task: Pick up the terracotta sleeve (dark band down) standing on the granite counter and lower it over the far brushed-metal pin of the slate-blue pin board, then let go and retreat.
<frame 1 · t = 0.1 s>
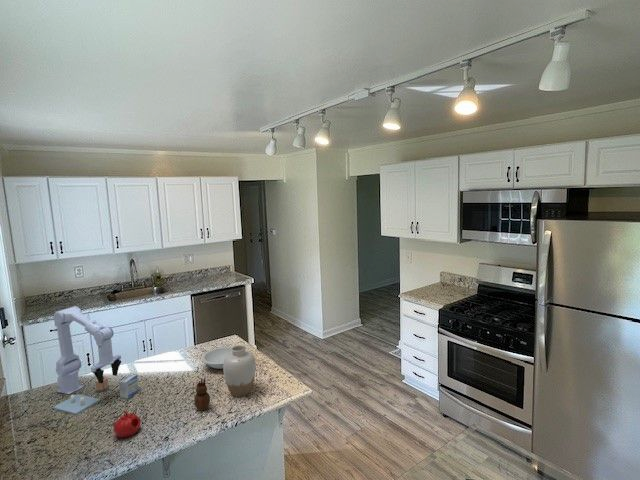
hand: (108, 379, 173), 10 cm above the countertop, tool pointing down, fingers open, 7 cm apart
wooden figurine: (202, 408, 162), on the countertop
pin board: (77, 404, 169), on the countertop
vase: (241, 391, 176), on the countertop
sleeve: (102, 389, 182), on the countertop
soup bowl: (223, 365, 206), on the countertop
medicine box: (130, 394, 177), on the countertop
pomegranate: (128, 433, 147), on the countertop
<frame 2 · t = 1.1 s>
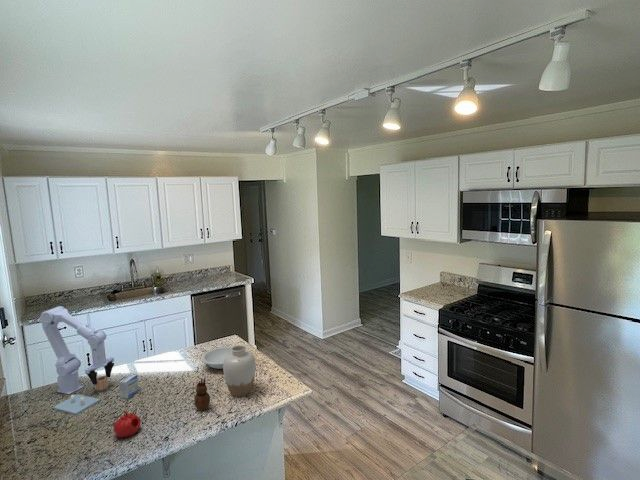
hand: (101, 380, 181), 5 cm above the countertop, tool pointing down, fingers open, 7 cm apart
nothing on the countertop moved.
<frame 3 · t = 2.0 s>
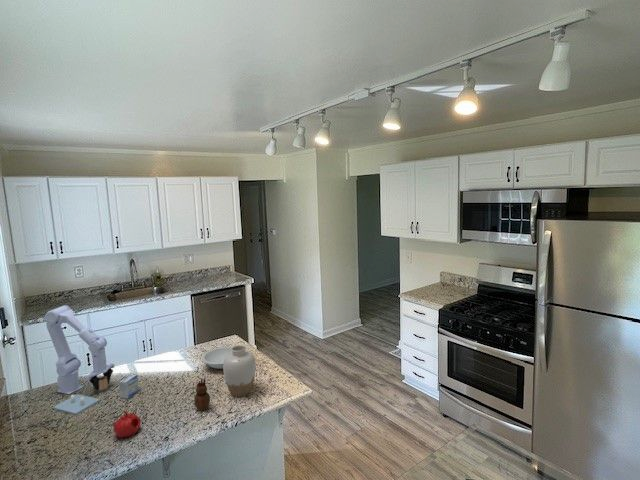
hand: (102, 386, 182), 2 cm above the countertop, tool pointing down, fingers closed on sleeve, 5 cm apart
sleeve: (102, 389, 182), on the countertop, touching gripper
everything else where it was.
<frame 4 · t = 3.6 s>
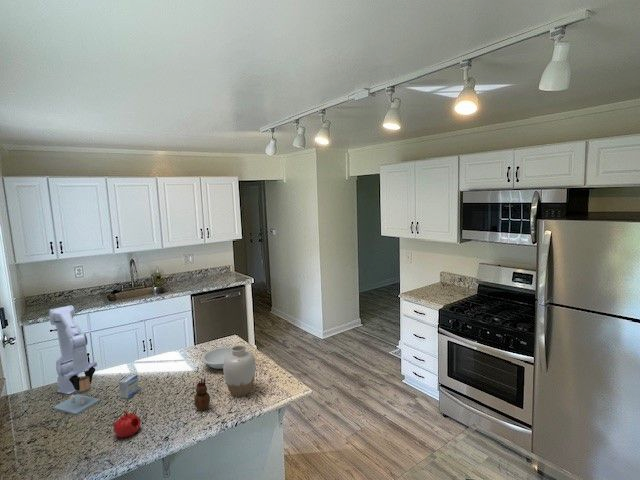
hand: (83, 386, 168), 9 cm above the countertop, tool pointing down, fingers closed on sleeve, 5 cm apart
sleeve: (84, 390, 168), point 7 cm above the countertop, touching gripper
everything else where it was.
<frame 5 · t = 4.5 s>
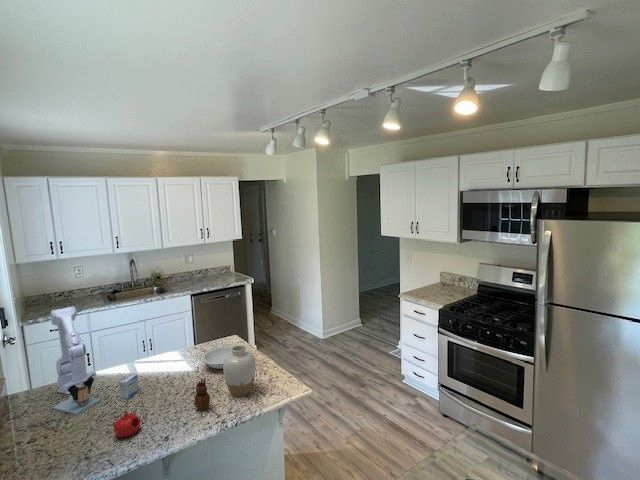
hand: (81, 396, 167), 5 cm above the countertop, tool pointing down, fingers closed on sleeve, 5 cm apart
sleeve: (82, 400, 167), point 3 cm above the countertop, touching gripper
everything else where it was.
when the fingers open (4 cm above the countertop, at t = 5.1 s): sleeve drops 2 cm, resting on pin board.
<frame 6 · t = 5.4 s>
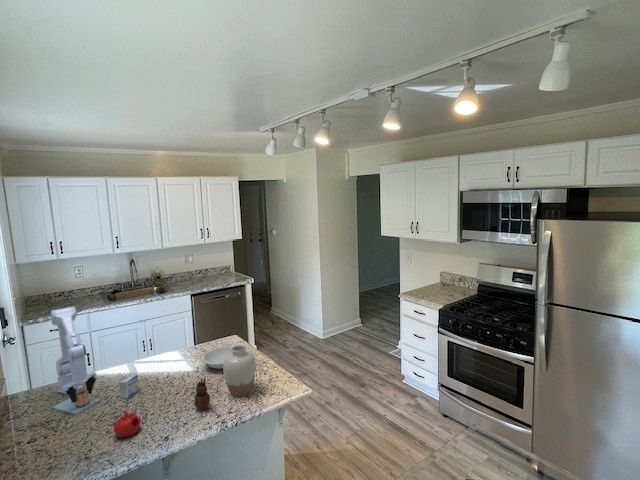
hand: (81, 397, 167), 4 cm above the countertop, tool pointing down, fingers open, 7 cm apart
sleeve: (82, 404, 167), point 1 cm above the countertop, touching pin board
everything else where it was.
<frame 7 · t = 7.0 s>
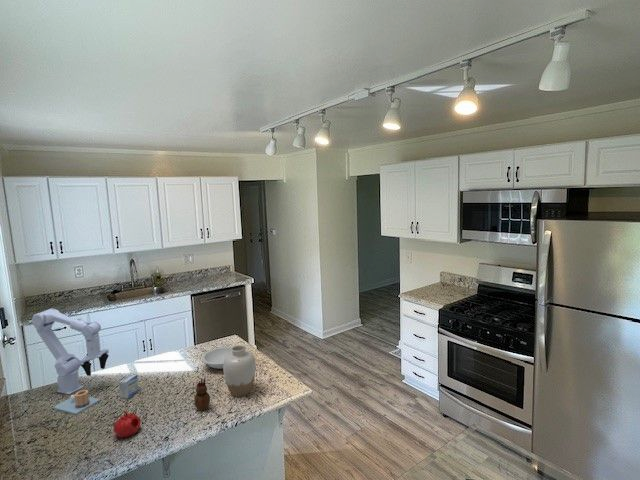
hand: (95, 371, 181), 10 cm above the countertop, tool pointing down, fingers open, 7 cm apart
nothing on the countertop moved.
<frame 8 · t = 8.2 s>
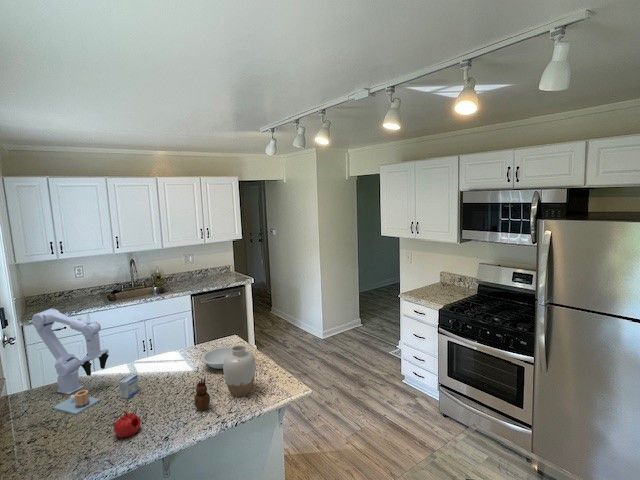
hand: (95, 371, 181), 10 cm above the countertop, tool pointing down, fingers open, 7 cm apart
nothing on the countertop moved.
at the end: sleeve 0.2 cm from the target spot on the pin board, point 0.8 cm above the pin board's base; sleeve tilted 0°; the gripper is holding nothing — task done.
